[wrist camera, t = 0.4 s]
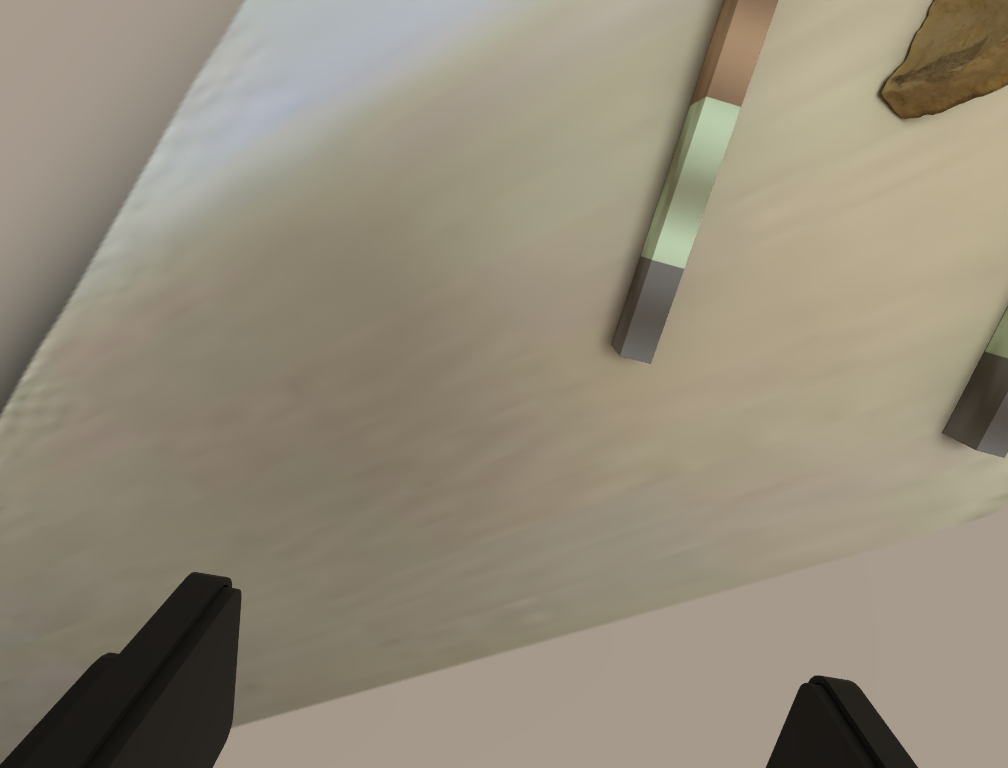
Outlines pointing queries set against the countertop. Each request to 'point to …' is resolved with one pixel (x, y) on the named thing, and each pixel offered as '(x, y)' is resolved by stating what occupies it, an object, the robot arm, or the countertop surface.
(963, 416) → the channel
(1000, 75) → the rock
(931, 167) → the countertop surface
